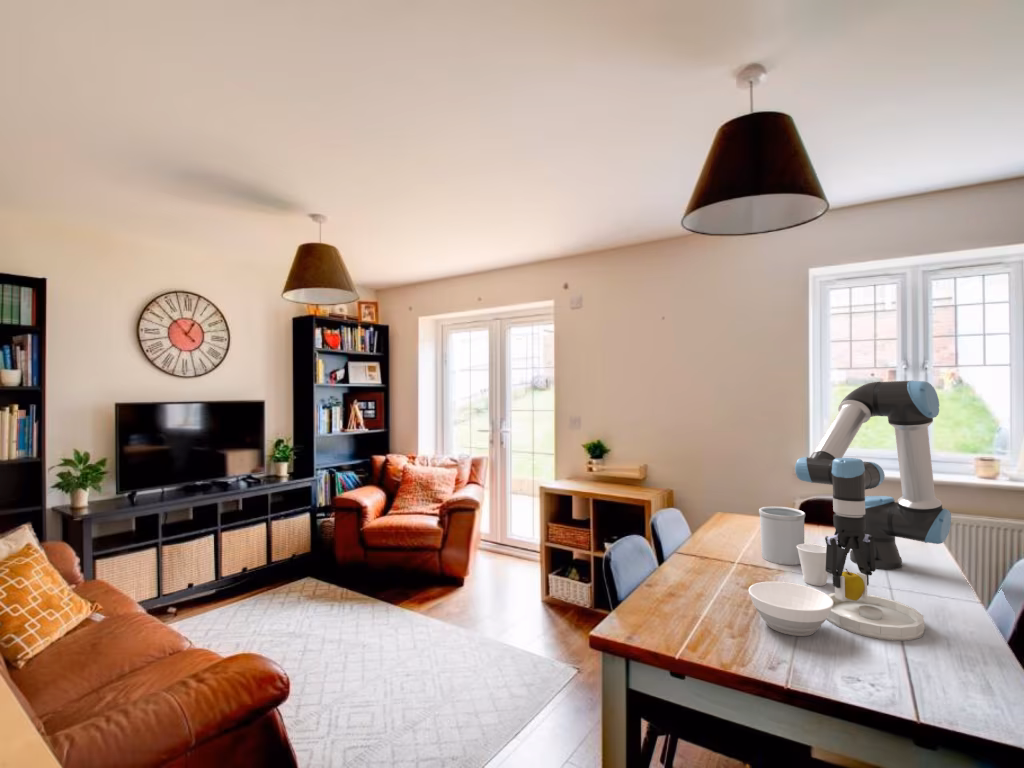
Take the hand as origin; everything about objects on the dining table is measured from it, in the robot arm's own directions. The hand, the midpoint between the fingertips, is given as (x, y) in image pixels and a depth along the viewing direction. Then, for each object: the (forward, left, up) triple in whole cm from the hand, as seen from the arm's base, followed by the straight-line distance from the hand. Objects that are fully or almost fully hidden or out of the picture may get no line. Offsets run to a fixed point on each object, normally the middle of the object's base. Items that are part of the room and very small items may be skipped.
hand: (851, 598), depth 143 cm
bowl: (+23, +5, -4) cm, 24 cm away
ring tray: (0, +6, -4) cm, 7 cm away
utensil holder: (-12, -44, -4) cm, 46 cm away
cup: (-6, -21, -4) cm, 22 cm away
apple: (0, 0, -1) cm, 1 cm away
